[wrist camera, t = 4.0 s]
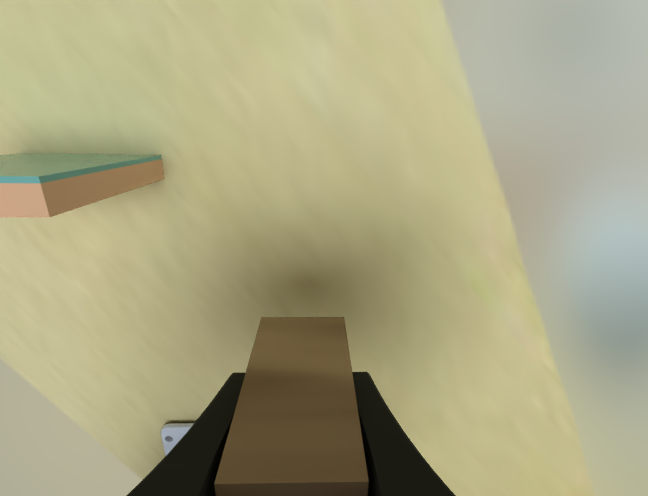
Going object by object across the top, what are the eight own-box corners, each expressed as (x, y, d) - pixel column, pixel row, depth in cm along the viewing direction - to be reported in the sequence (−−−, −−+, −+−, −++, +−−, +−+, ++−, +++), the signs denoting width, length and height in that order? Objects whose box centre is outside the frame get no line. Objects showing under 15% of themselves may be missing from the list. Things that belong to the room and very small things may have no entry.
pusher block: (341, 383, 13) (361, 574, 8) (265, 383, 13) (227, 577, 7) (343, 317, 12) (368, 481, 7) (261, 317, 12) (213, 483, 6)
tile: (164, 178, 17) (49, 217, 10) (27, 177, 17) (-195, 215, 10) (160, 155, 17) (38, 176, 10) (20, 153, 17) (-217, 173, 9)
